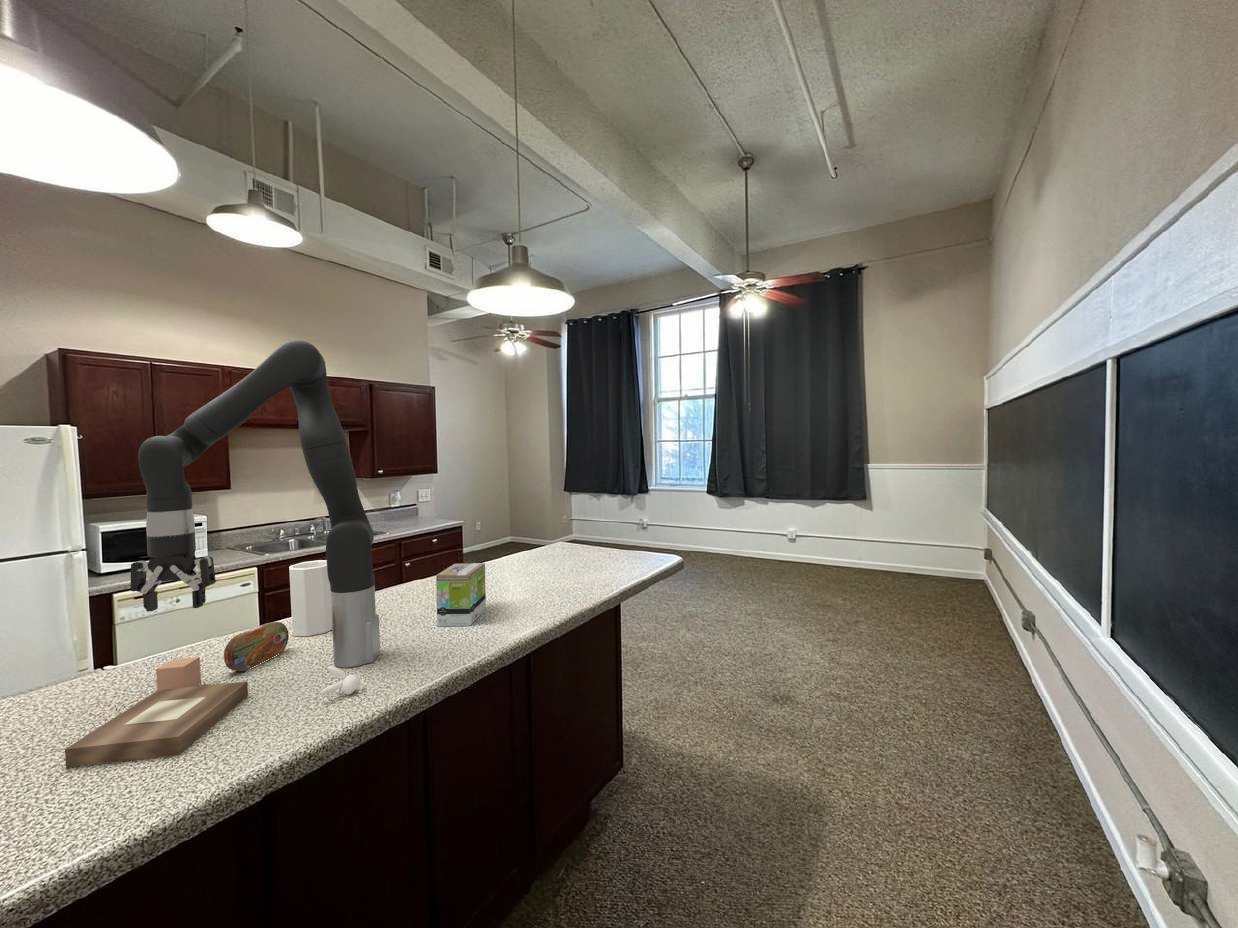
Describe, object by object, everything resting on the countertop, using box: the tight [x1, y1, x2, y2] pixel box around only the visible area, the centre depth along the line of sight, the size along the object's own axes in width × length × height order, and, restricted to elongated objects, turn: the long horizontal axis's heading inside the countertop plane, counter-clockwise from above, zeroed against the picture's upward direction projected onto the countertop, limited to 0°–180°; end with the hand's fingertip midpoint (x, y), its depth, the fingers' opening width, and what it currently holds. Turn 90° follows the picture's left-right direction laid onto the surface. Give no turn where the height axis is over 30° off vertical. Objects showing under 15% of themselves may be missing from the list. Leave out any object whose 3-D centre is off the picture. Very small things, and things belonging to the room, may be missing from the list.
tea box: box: [435, 562, 487, 627], centre depth 146 cm, size 15×10×15 cm, turn 179°
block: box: [155, 656, 202, 691], centre depth 105 cm, size 5×5×6 cm
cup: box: [288, 559, 332, 637], centre depth 140 cm, size 11×11×18 cm
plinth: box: [64, 680, 249, 768], centre depth 91 cm, size 16×20×3 cm
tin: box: [223, 621, 290, 672], centre depth 118 cm, size 15×3×8 cm, turn 168°
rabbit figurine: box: [319, 665, 365, 698], centre depth 101 cm, size 6×4×8 cm
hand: (175, 608), depth 105 cm, fingers open, 8 cm apart
